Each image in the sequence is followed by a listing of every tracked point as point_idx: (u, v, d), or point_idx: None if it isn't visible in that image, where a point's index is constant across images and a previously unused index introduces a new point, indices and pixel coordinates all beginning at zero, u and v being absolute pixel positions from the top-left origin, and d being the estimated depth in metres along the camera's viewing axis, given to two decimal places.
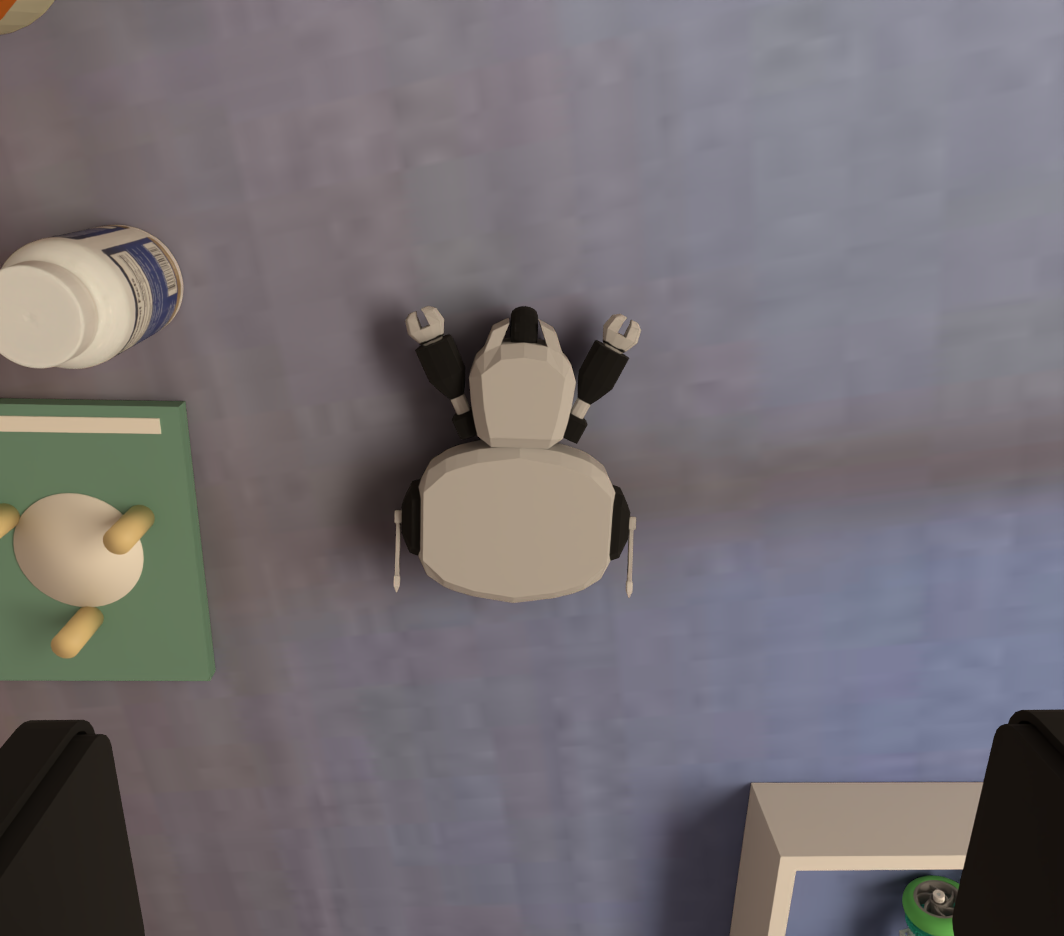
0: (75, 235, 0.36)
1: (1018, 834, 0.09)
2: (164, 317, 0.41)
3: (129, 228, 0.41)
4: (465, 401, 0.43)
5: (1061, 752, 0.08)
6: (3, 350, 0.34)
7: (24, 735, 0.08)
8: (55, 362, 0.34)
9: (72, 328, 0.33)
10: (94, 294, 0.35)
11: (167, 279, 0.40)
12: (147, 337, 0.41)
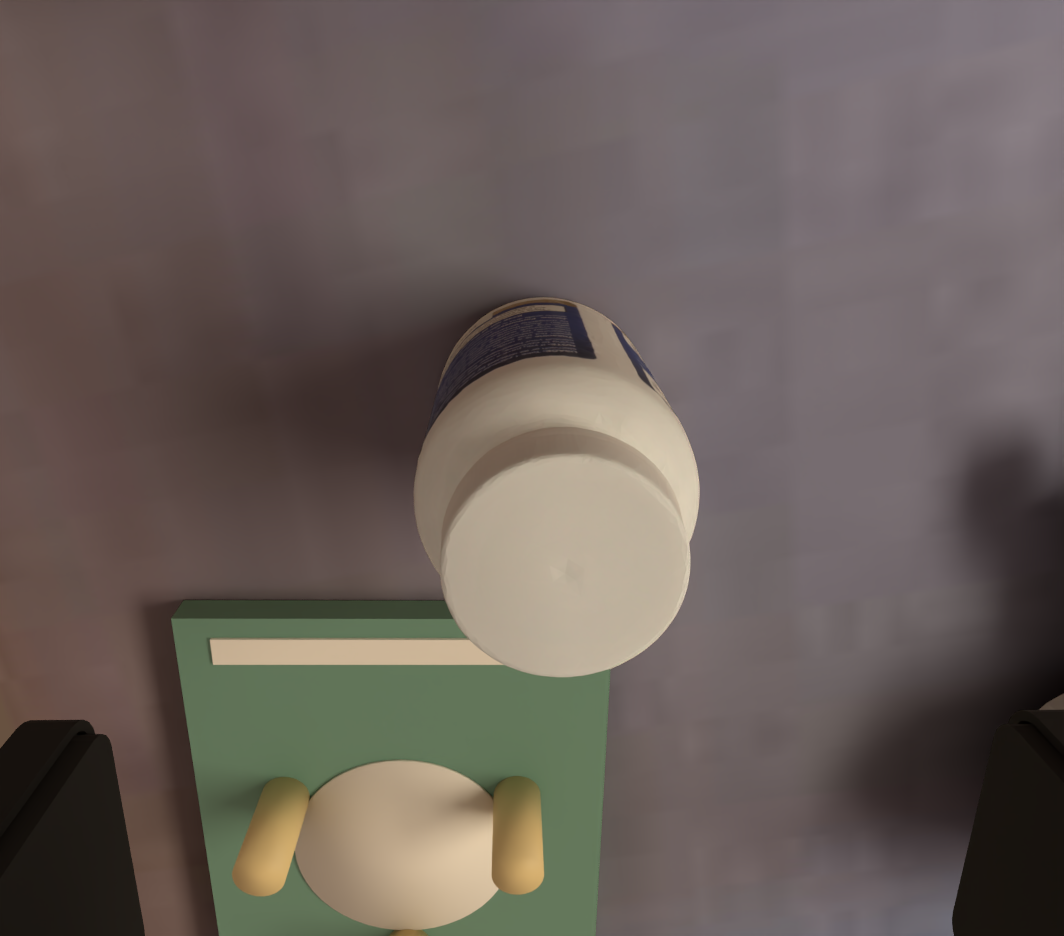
0: (569, 344, 0.17)
1: (1018, 834, 0.09)
2: None
3: (578, 306, 0.21)
4: None
5: (1061, 752, 0.08)
6: (488, 643, 0.14)
7: (24, 735, 0.08)
8: (604, 665, 0.14)
9: (660, 594, 0.14)
10: None
11: None
12: None
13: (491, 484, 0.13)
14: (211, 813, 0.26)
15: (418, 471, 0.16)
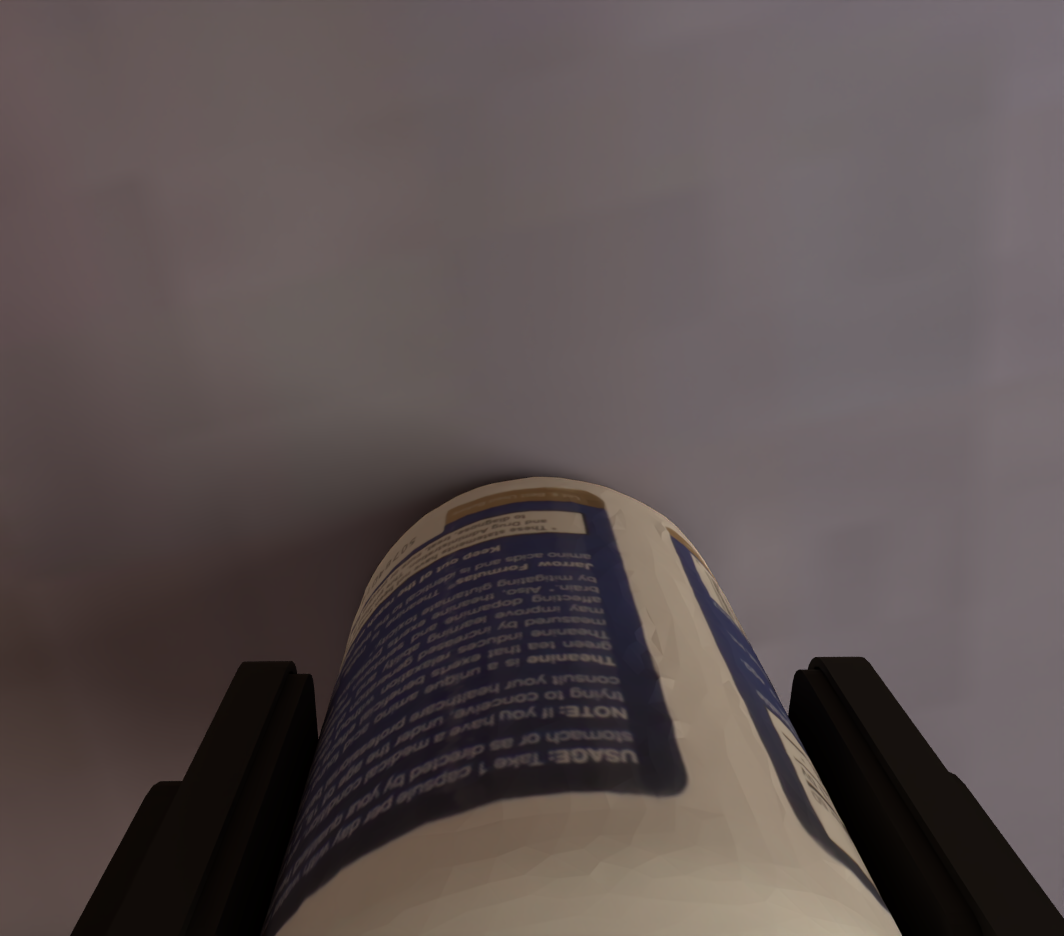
0: (613, 709, 0.07)
1: None
2: None
3: (607, 504, 0.11)
4: None
5: (836, 692, 0.09)
6: None
7: (247, 673, 0.09)
8: None
9: None
10: None
11: None
12: None
13: None
14: None
15: None
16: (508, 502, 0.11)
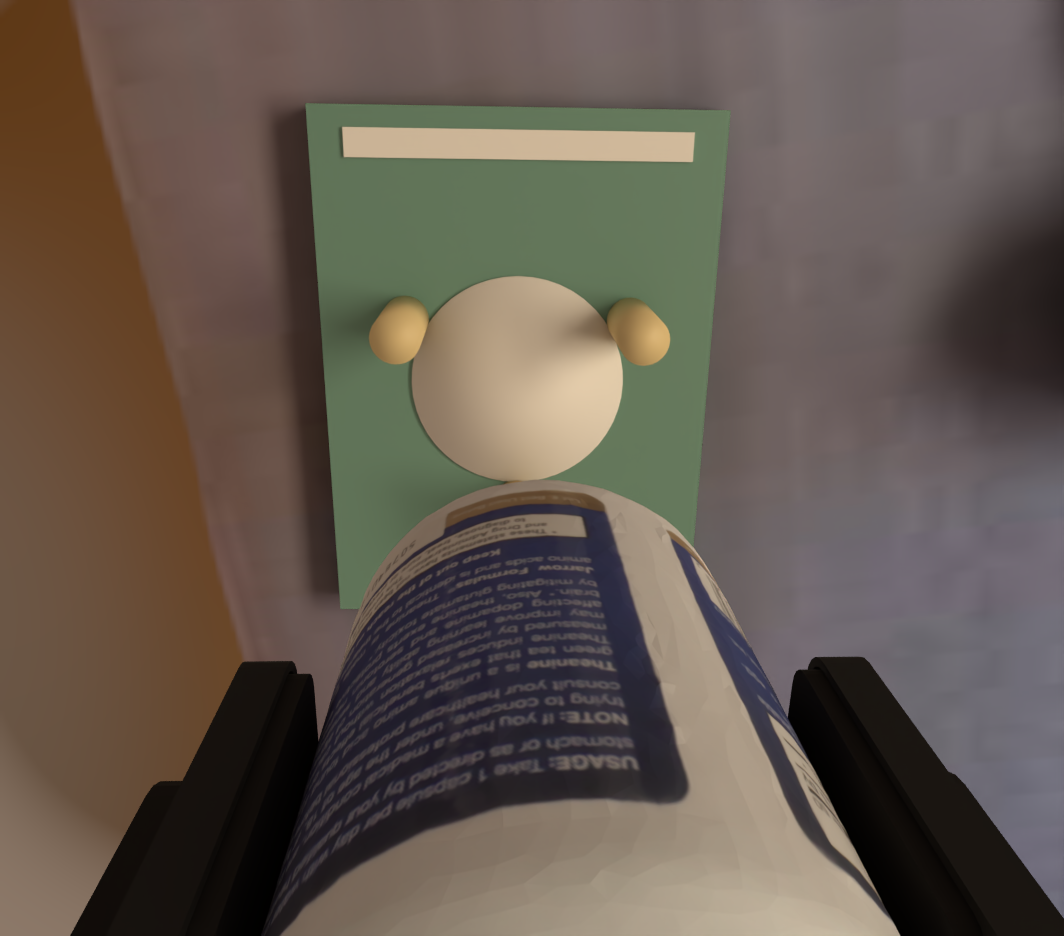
0: (613, 715, 0.07)
1: None
2: None
3: (607, 507, 0.11)
4: None
5: (836, 692, 0.09)
6: None
7: (247, 672, 0.09)
8: None
9: None
10: None
11: None
12: None
13: None
14: (332, 339, 0.27)
15: None
16: (508, 505, 0.11)
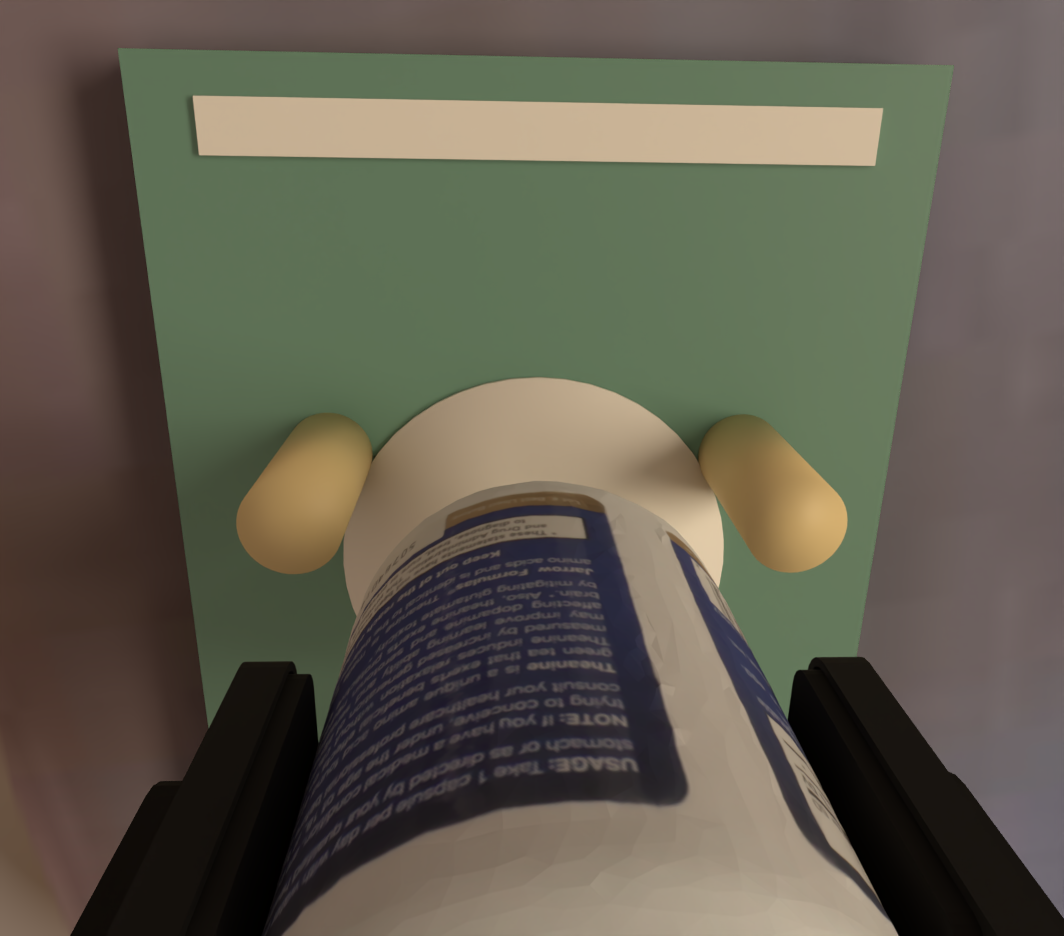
0: (613, 717, 0.07)
1: None
2: None
3: (607, 509, 0.11)
4: None
5: (836, 692, 0.09)
6: None
7: (247, 673, 0.09)
8: None
9: None
10: None
11: None
12: None
13: None
14: (196, 489, 0.15)
15: None
16: (508, 506, 0.11)
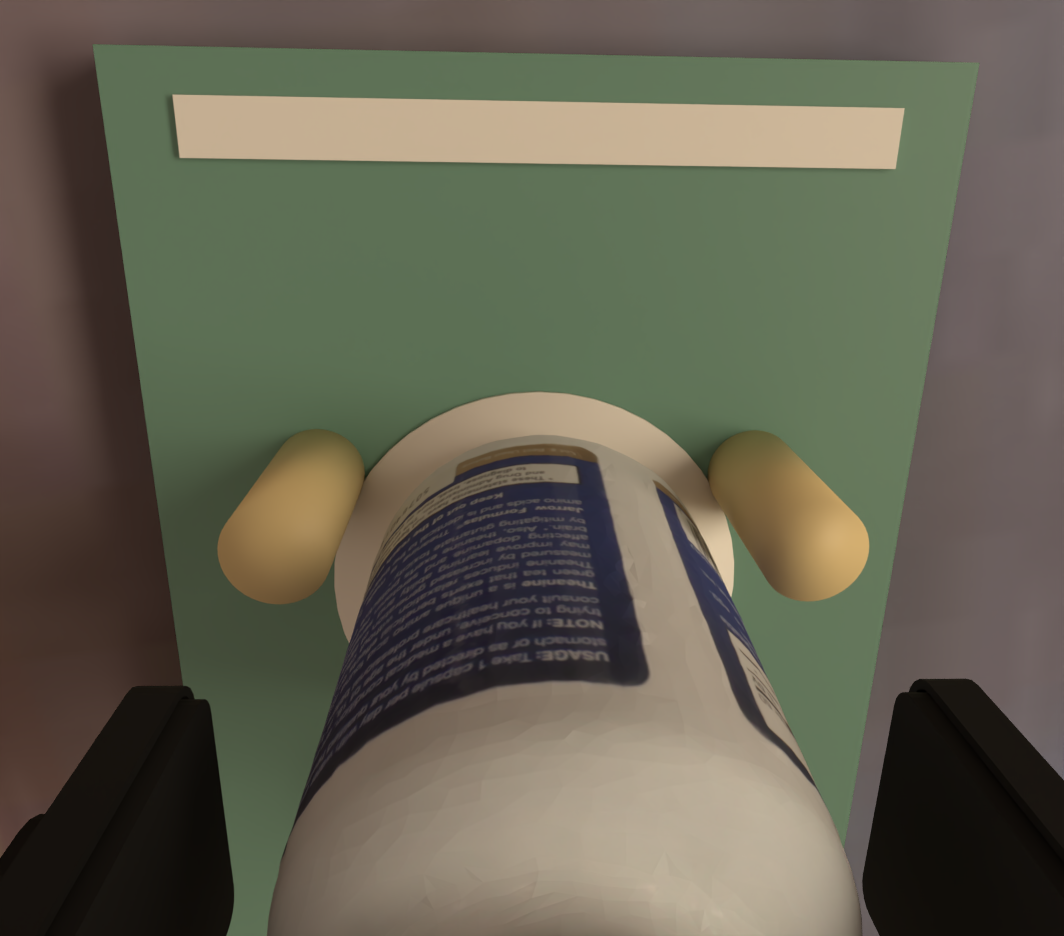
0: (591, 622, 0.08)
1: (912, 796, 0.09)
2: None
3: (599, 459, 0.12)
4: None
5: (949, 717, 0.09)
6: None
7: (135, 699, 0.09)
8: None
9: None
10: None
11: None
12: None
13: None
14: (178, 509, 0.14)
15: (270, 921, 0.07)
16: (511, 456, 0.12)
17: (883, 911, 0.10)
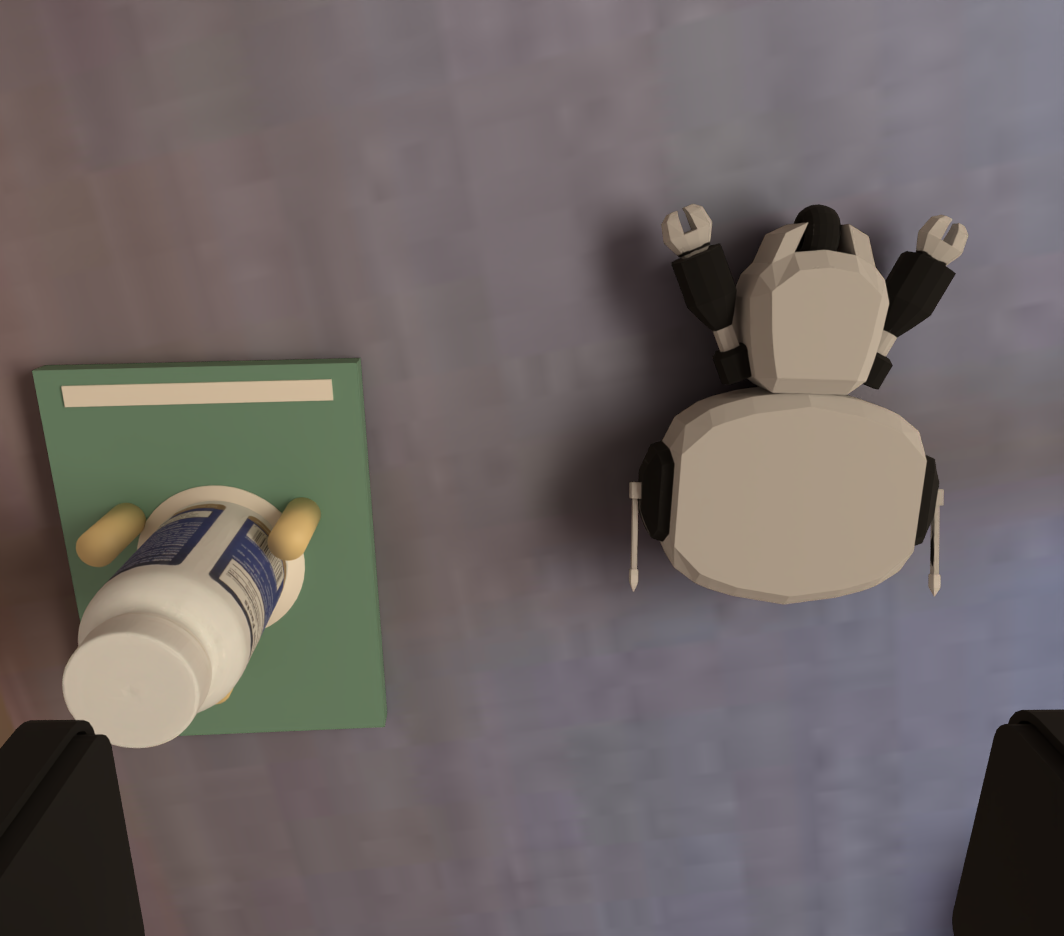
0: (173, 552, 0.29)
1: (1018, 834, 0.09)
2: (271, 614, 0.33)
3: (226, 508, 0.33)
4: (734, 333, 0.32)
5: (1061, 752, 0.08)
6: (96, 731, 0.26)
7: (24, 735, 0.08)
8: (162, 740, 0.26)
9: (184, 701, 0.26)
10: (204, 639, 0.28)
11: (275, 571, 0.33)
12: None
13: (81, 649, 0.25)
14: (72, 536, 0.35)
15: (78, 632, 0.28)
16: (192, 508, 0.33)
17: None
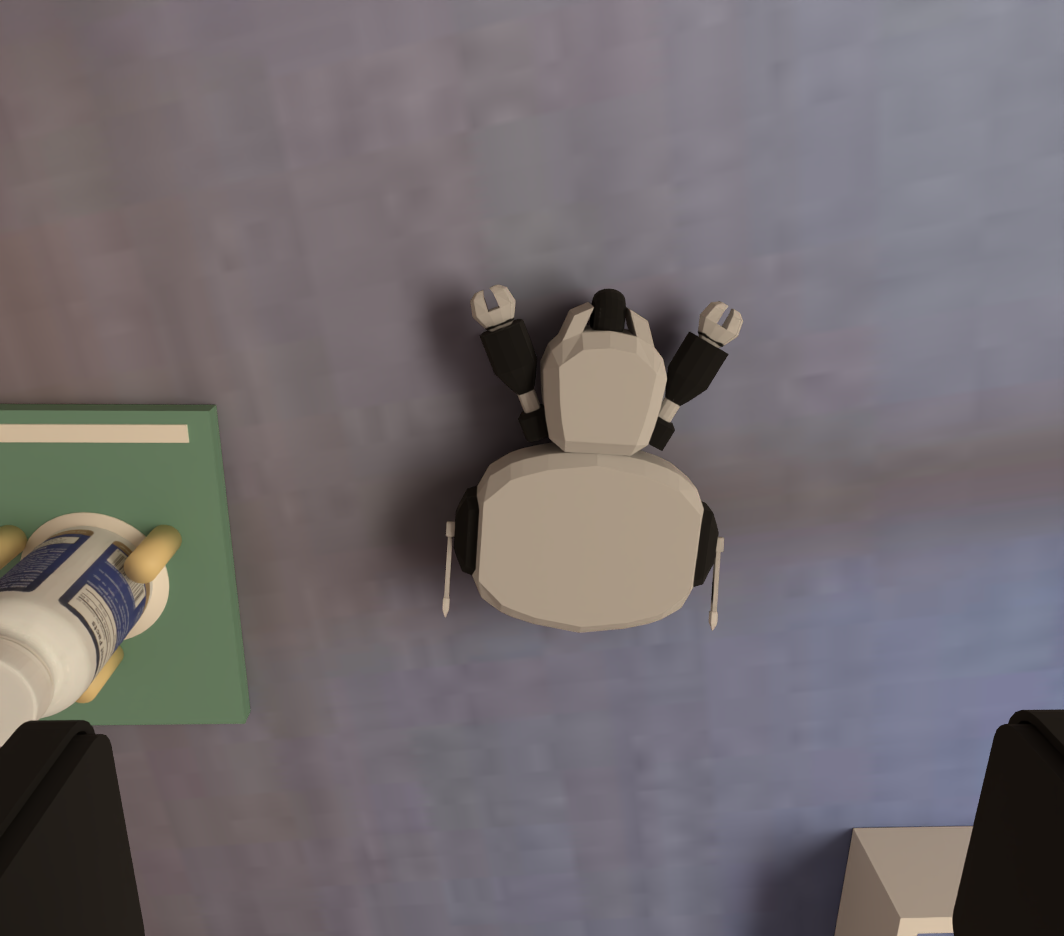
0: (31, 579, 0.34)
1: (1018, 834, 0.09)
2: (131, 627, 0.38)
3: (93, 534, 0.38)
4: (535, 397, 0.37)
5: (1061, 752, 0.08)
6: None
7: (24, 735, 0.08)
8: None
9: (24, 710, 0.31)
10: (49, 657, 0.32)
11: (133, 591, 0.38)
12: None
13: None
14: None
15: None
16: (63, 534, 0.38)
17: None
